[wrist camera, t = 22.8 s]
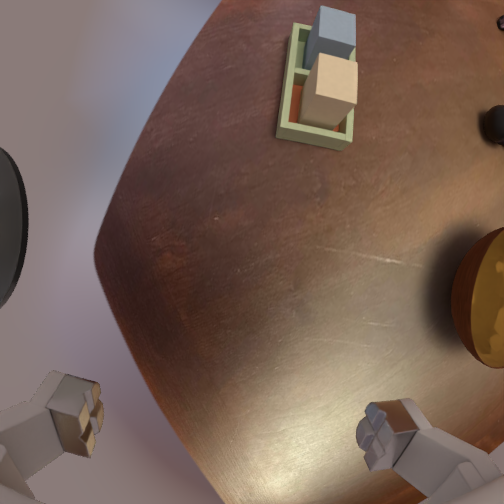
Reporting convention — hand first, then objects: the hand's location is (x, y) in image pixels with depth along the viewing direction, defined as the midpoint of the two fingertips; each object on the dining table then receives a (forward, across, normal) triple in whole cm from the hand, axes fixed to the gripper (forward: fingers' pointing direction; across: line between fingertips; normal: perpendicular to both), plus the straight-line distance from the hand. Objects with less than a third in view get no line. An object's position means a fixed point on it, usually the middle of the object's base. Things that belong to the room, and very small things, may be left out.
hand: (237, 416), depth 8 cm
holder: (+33, -8, -18) cm, 38 cm away
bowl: (+26, -35, +4) cm, 43 cm away
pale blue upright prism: (+33, -8, -22) cm, 40 cm away
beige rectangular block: (+31, -8, -15) cm, 35 cm away
